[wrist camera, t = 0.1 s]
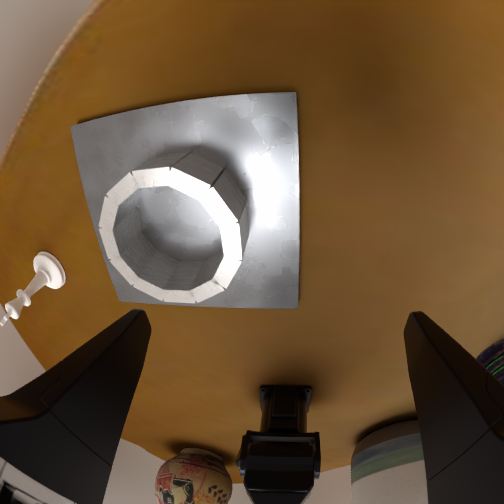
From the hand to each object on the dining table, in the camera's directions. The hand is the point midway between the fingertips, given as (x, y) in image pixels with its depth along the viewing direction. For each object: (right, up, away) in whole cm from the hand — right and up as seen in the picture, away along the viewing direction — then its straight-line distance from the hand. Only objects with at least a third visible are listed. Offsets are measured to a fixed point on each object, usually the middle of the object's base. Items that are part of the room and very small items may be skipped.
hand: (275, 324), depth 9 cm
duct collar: (-6, +5, +15) cm, 17 cm away
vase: (+24, -30, +32) cm, 50 cm away
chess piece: (-24, 0, +20) cm, 32 cm away
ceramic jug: (-12, -41, +43) cm, 61 cm away
